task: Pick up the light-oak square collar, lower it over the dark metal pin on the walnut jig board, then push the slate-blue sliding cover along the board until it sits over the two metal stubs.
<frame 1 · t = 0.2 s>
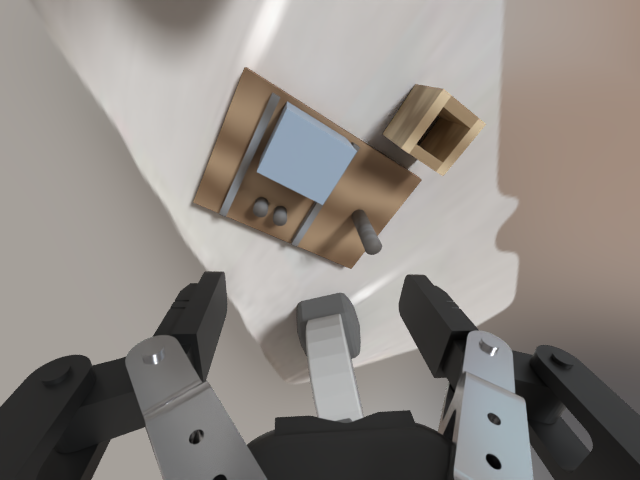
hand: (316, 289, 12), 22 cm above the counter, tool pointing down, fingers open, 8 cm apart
collar: (417, 124, 30), on the counter
alarm clock: (327, 321, 47), on the counter
jig board: (309, 186, 33), on the counter
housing: (305, 153, 26), point 4 cm above the counter, slide at 0.0 cm
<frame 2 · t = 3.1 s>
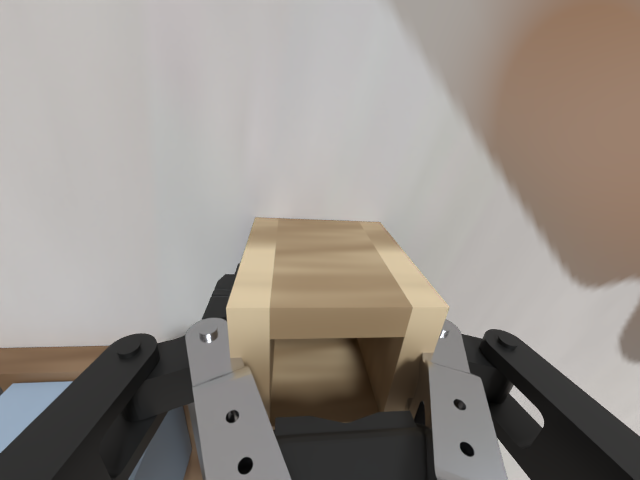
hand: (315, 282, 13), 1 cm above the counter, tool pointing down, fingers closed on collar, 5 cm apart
collar: (314, 273, 13), on the counter, touching gripper
jig board: (193, 430, 17), on the counter
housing: (79, 479, 12), point 4 cm above the counter, slide at 0.0 cm
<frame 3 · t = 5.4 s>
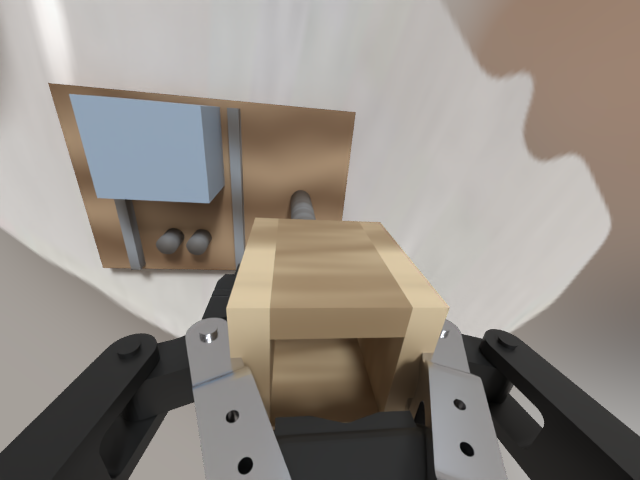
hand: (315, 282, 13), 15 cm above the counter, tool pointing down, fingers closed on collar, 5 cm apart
collar: (315, 273, 13), point 14 cm above the counter, touching gripper
jig board: (223, 191, 25), on the counter
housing: (163, 149, 19), point 4 cm above the counter, slide at 0.0 cm
when the fingers open (4 cm above the counter, at t = 7.8 s): collar drops 2 cm, resting on jig board.
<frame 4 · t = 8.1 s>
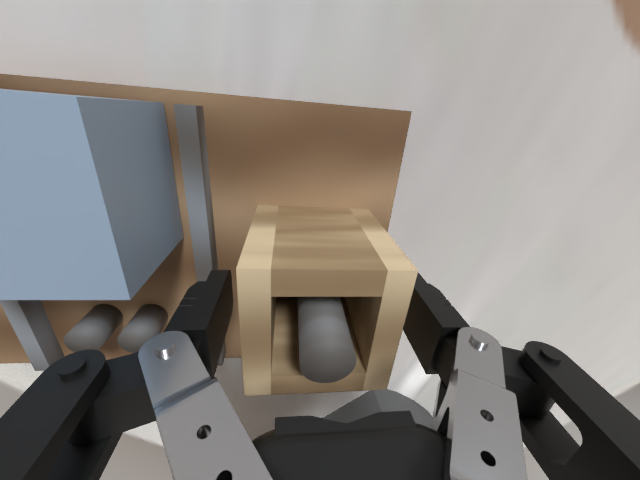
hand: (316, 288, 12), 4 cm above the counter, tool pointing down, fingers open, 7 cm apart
collar: (311, 255, 15), point 1 cm above the counter, touching jig board
alarm clock: (380, 433, 26), on the counter
jig board: (186, 241, 15), on the counter
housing: (42, 186, 10), point 4 cm above the counter, slide at 0.0 cm
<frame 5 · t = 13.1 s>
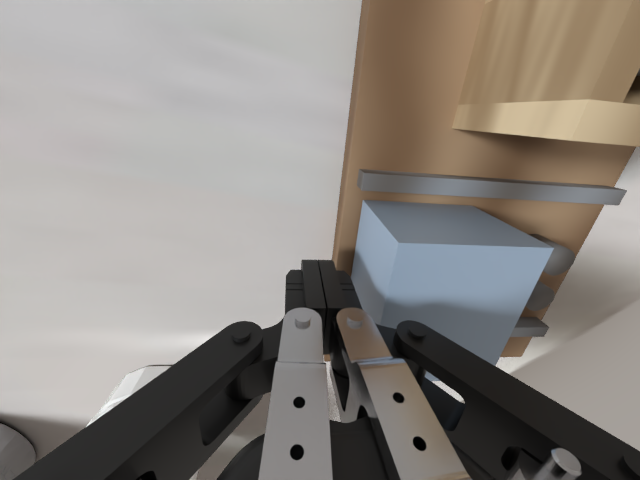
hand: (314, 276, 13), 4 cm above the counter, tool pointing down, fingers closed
white cup: (167, 393, 21), on the counter
collar: (529, 65, 12), point 1 cm above the counter, touching jig board
jig board: (462, 205, 16), on the counter
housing: (423, 286, 13), point 4 cm above the counter, slide at 0.4 cm, touching gripper
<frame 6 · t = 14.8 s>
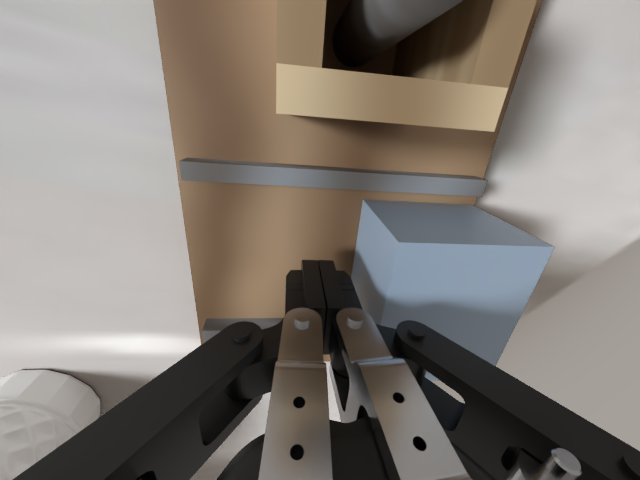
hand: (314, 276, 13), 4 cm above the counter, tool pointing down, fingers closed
white cup: (52, 397, 20), on the counter
collar: (353, 42, 11), point 1 cm above the counter, touching jig board
jig board: (332, 198, 15), on the counter
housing: (424, 286, 13), point 4 cm above the counter, slide at 8.3 cm, touching gripper
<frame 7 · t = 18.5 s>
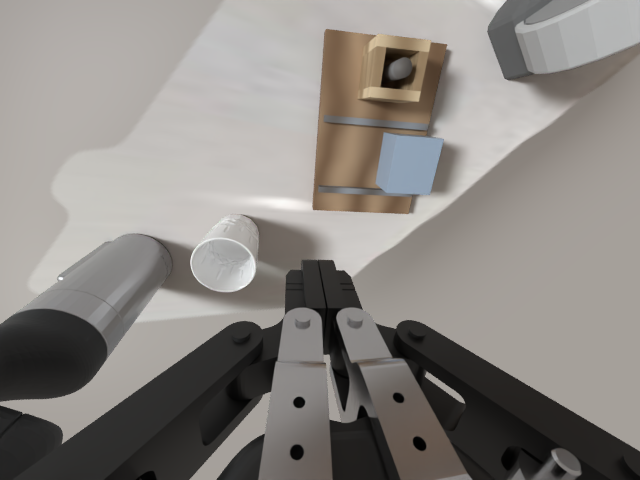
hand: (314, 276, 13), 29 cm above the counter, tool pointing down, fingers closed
white cup: (237, 233, 43), on the counter
collar: (382, 76, 34), point 1 cm above the counter, touching jig board
alarm clock: (539, 21, 35), on the counter
jig board: (370, 134, 38), on the counter
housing: (406, 163, 36), point 4 cm above the counter, slide at 8.3 cm
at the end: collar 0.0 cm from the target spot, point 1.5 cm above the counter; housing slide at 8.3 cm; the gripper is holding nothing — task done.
